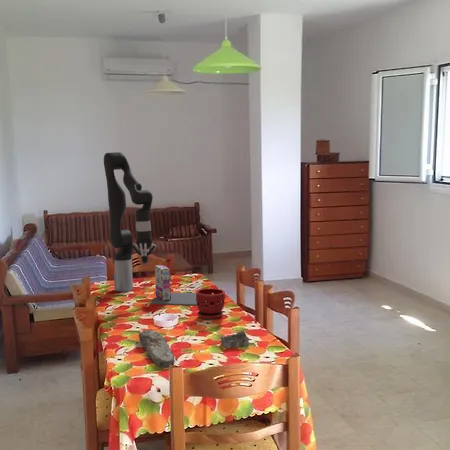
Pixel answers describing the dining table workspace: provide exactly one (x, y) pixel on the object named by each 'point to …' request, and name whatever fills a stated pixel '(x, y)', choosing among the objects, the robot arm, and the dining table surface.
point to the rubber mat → (178, 299)
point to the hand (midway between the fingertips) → (145, 262)
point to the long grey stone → (157, 348)
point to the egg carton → (235, 340)
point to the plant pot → (210, 303)
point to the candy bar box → (162, 282)
